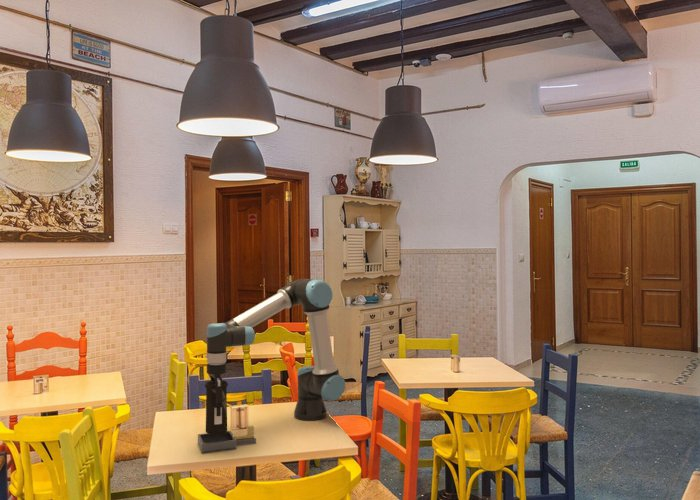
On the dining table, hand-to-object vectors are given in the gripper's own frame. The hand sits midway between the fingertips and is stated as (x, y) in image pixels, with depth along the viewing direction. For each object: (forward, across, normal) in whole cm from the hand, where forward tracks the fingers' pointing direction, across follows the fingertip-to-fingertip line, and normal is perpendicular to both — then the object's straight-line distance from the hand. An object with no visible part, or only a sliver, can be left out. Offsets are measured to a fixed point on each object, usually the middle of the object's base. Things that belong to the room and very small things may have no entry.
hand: (216, 420), depth 242 cm
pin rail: (+10, 0, +11) cm, 15 cm away
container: (+4, 0, 0) cm, 4 cm away
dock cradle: (+10, 0, 0) cm, 10 cm away
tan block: (+9, 0, +11) cm, 14 cm away
